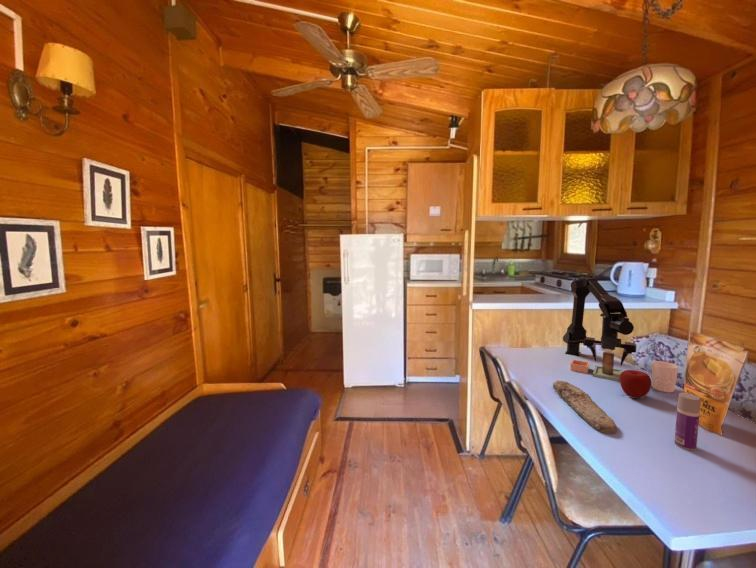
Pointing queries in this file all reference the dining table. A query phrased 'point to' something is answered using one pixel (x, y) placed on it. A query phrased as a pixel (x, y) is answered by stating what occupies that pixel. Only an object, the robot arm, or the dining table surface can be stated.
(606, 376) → the tray
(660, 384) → the pink cylinder
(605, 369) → the dowel
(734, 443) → the dining table surface
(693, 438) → the container
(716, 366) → the pancake mix bag
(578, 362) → the holder
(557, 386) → the french baguette
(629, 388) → the apple
